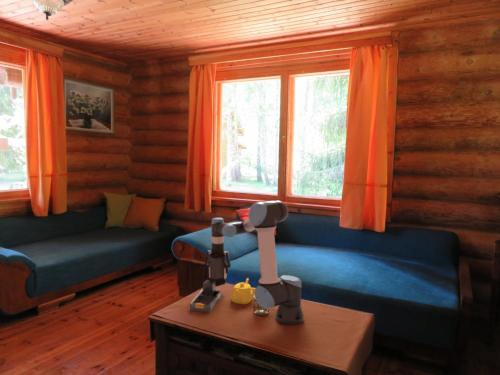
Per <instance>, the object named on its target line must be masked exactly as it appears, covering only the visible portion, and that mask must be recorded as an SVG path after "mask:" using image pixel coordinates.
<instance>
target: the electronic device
mask: <svg viewBox="0 0 500 375" xmlns="http://www.w3.org/2000/svg"><path fill="white" fill-rule="evenodd" d="M221 256H222V257H223V258H224V260H225V261H226V255H225V253H224V254H223V255H218V254H212V253H211V254H210V256H209V262H210V278H209V280H215V281H216V287H217V288H218V287H220V286H224V285H226V281H227V280H226V279H227V278H226V279H224V268H225V266H224V264H223V262H222V259H221ZM216 287H215V288H216Z"/></svg>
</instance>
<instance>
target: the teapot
mask: <svg viewBox="0 0 500 375" xmlns="http://www.w3.org/2000/svg"><path fill="white" fill-rule="evenodd" d="M256 288H257V287H251V285H250V284H249V277H247V278H246V280H245V281H244V282H238V283H236V284H235V285H234V286H233V288H232V292H231V294H230V295H231V296H230V300H231V302H232V303H234V304H238V305H248V304H249V303H251V301H253V299H254V296H255V289H256Z"/></svg>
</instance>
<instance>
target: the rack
mask: <svg viewBox="0 0 500 375" xmlns="http://www.w3.org/2000/svg"><path fill="white" fill-rule="evenodd" d="M221 295H222V291H221V290H216V281H215V280H210V279H205V280H204V282H203V283H202V289H201V290H200V292H198V293H197V294H196V296H195V297H194V298H192V301H191V302H190V303H189V311H190V312H199V313H207V314H208V313H212V311H213V310H214V308H215V307H216V305H217V304H218V302H219V301H220V300H221ZM216 303H217V304H216Z"/></svg>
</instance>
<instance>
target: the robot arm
mask: <svg viewBox="0 0 500 375" xmlns="http://www.w3.org/2000/svg"><path fill="white" fill-rule="evenodd" d="M288 216H289V208H288V205H287V204H286V203H284V201H281V200H270V201H259V202H254V203H253V204H252V205H251V206H250V208H249V210H248V218H247V219H244V220H241V221H236V222H227V223H226V222H225V221H224V218H223V217H213V218H212V219H211V250H209V249H208V250H207V251H206V258H205V263H204V266H205V267H207V272H208V275H209V276H208V278H209V279H210V254H218V255H223V254H224V253H225V260H224V258H223V257H222V256H221V259H222V262H223V264H224V266H225V268H224V279H227V274H228V272H229V268H231V267H232V264H231V259H230V256H229V254H230V252H229V251H228V250H227V251H226V250H225V249H224V248H225V247H224V246H225V244H224V242H225V241H224V237H225V238H233V237H234V236H236V235H242V234H249V233H252V232H253V231H256V232H257V242H258V244H257V245H258V255H259V267H260V268H259V269H260V278H259V280H258V285H257V287H255V288H256V289H255V294H254V298H255V300H256V302H257V303H258V305H259V306H260V307H261V308H263V309H266V310H268V309H273V308H274V307H277V310H276V312H275V320H276V321H277V322H278V323H280V324H283V325H286V326H287V325H288V326H295V325H299V324H302V323H303V321H304V318H305V317H304V315H305V314H304V312H303V308H302V280H301V279H300V278H299V277H296V276H293V275H288V274H287V275H284V274H283V275H281V276H278V265H277V252H276V250H277V249H276V241H275V240H276V239H275V229H276V228H277V223H281V222H284V221H285V220H286V219H287V218H288Z"/></svg>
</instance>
